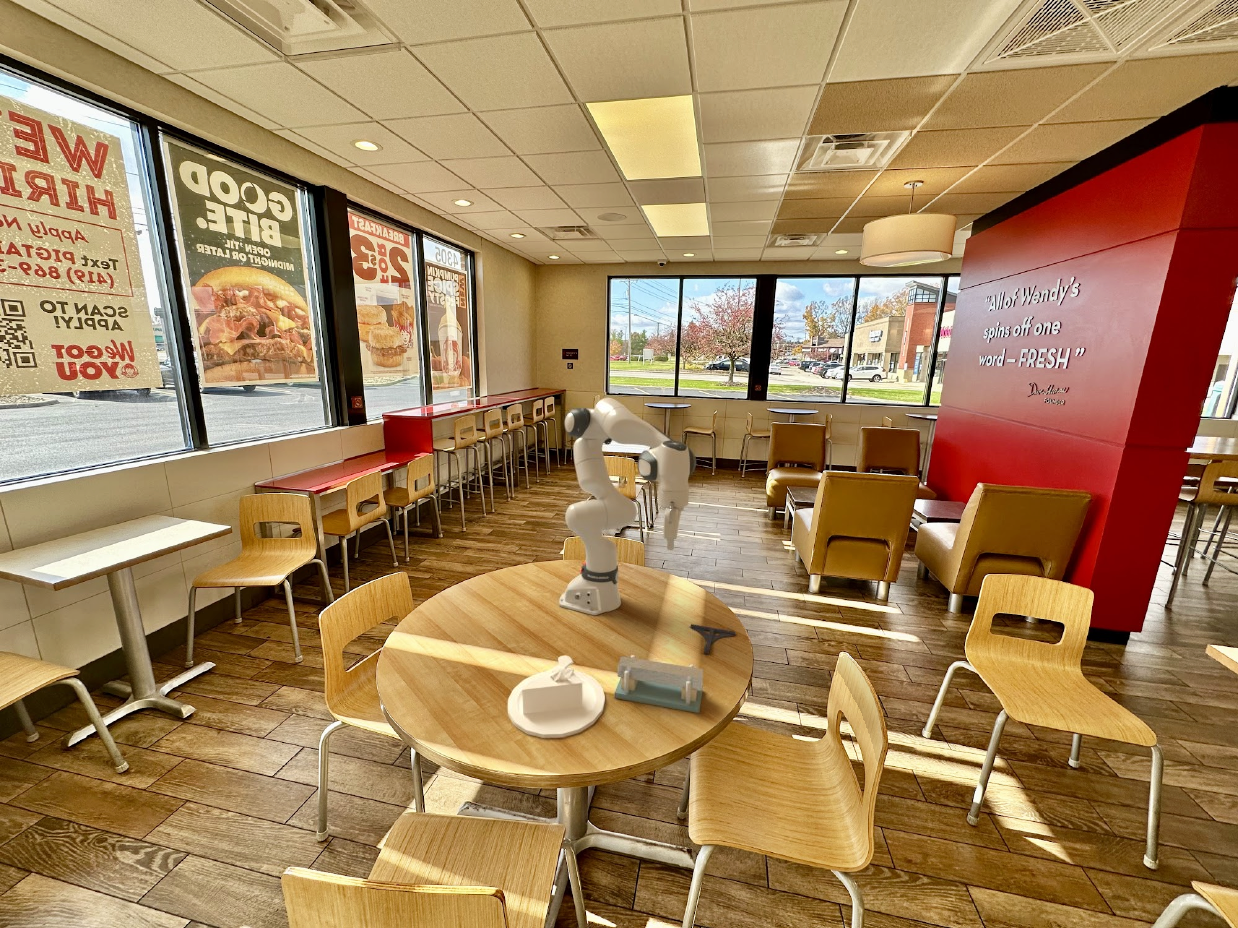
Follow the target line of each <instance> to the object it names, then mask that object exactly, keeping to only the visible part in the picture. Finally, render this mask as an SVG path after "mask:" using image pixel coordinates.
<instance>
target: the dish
mask: <svg viewBox="0 0 1238 928" xmlns="http://www.w3.org/2000/svg"><path fill="white" fill-rule="evenodd" d="M557 660H558V664H557V665H555V666H554V667H553V668H551V669H550V670H546V671H541V672H537V673H534V675H531V676H528V677H526V678H525V679H523V680H522V681H520V683H518V684H517V685H516V686H515V687H514V688H513V689H512V691H511V693H510V695H509V697H508V698H507V716H508V717H509V719H510V720H511V722H512V724H513V726H515V727H516V728H517V729H519V730H520V731H521V732H523V733H525V734H527V735H530V736H534V737H538V738H541V739H558V738H562V739H563V738H565V737H569V736H572V735H576V734H579V733H581V732H583V731H584V730H586V729H587V728H589V727H591V726H592V725H594V724H595V723H596V721H597V720H598V719H599V718H600V716H601V715H602V714H603V712H604V708H605V702H606V697H605V693H604V689H603V687H602V686H601V684H600V683H599V682H598V681H597V680H596V679H595V678H594V677H592V676H590V675H588V674H586V673H584V672H582V671H578V670H574V669H573V668H571V667H570V666H571V665H573V664H574V661H573V659H572V658H571V657H570V656H569V655H561V656H559V657H557Z"/></svg>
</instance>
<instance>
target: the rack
mask: <svg viewBox="0 0 1238 928" xmlns="http://www.w3.org/2000/svg"><path fill="white" fill-rule="evenodd" d="M630 658H636V655H635V654H632V655H630ZM689 667H693V668H695V665H694V664H692V663H691V664H689ZM619 678H620V679H619V680H618V683H617V686H616V688H615V691H614V698H615V699H620V700H624V701H631V702H636V703H641V704H647V705H651V706H652V705H653V706H656V707H657V706H658V707H664V708H668V709H669V708H670V709H674V710H679V711H680V710H681V711H685V712H690V713H697V714H700V710H701V704H702V695H703V689H704V688H703V685H702V690H701V691H699V690H694V689H691V682H690V681H687V682H686V688H682V687H676V686H670V685H664V684H658V683H652V682H647V681H641V680H635V679H629V671H625V674H624V678H623V677H619Z"/></svg>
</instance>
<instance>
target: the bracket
mask: <svg viewBox="0 0 1238 928" xmlns="http://www.w3.org/2000/svg"><path fill="white" fill-rule="evenodd" d="M690 629H691V630H692V631H694V632H697V633H699V634H700V635H701V636H702V637H703V638H704V640H705V642H706V643H705V645H704V649H703V650H704V651H703V655H707V656H708V655H710V654H709V653H710V650H711V646H712V644H714V642H716V641H718V640H720V639H723V638H730V637H731V638H732V637H735V636H736V631H734V630H728V629H722V628H716V627H710V626H704V625H698V624H693V623H691V624H690ZM707 632H709V633H707Z"/></svg>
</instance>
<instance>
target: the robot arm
mask: <svg viewBox="0 0 1238 928" xmlns="http://www.w3.org/2000/svg"><path fill="white" fill-rule="evenodd" d="M563 422H564V423H563V425H564V430H565V432H566V434H567V436H570V437H571V438H575V439H576V440H575V441H574V443H573V462H574V468H575V472H576V477H577V482H578V486H579V487H580V488H581V490H582V491H583V492H585V493H588V494H590V495H592V496H593V497H595V499H590V500H589V499H588V500H582V501H579V502H575V503H572V504H569V506H568V507H567V509H566V511H565V514H564V515H565V516H564V519H565V522H566V523H565V524H566V526H567V527H568V529H569V530H570V531H571V532H573V533H575V535H577V536H578V537H579V539H581V541H582V543H583V545H584V549H585V561H584V562H583V563H582V566H581V567H580V569H579V575H578V576H576V577H575V578H573V579H572V580H570V582H569V583H568V584H567V586H566V589H565V591H564V592H563V593H562V594H561V596H560V597H559V600H558V605H559V607H561V608H565V609H568V610H573V611H575V612H576V611H577V612H581V613H584V614H588V615H592V616H597V615H600V614H602V613H608V612H611V611H614V610H616V609H619V607H620V606H621V604H622V600H621V595H620V592H619V585H618V581H619V565H618V548H617V545H616V543H615V542H614V541H613V540H611V539H610V538H607V537H605V536H603V531H607V530H616V529H617V530H618V529H621V528H626V527H627V526H628V527H629V526H630V525H633V524H634V522H635V521H636V518H637V507H636V504H635V503H634V501H633V500H632V499H631V498H629V497H627V496H625V495H624V494H623V493H621V492H620V491H619V490H618V489H617V488H616V486H615V485H614V484H613V482H612V481H611V477H610V474H609V471H608V468H607V464H606V460H605V456H604V452H603V446H604V445H607V446H608V445H610V444H611V443H612V442H615V443H616V444H620V445H636V446H645V447H649V448H650V449H645V450H643V451H642V452H641V453H640V454H639V457H638V459H637V471H638V474H639V475H640V477H641V478H643V479H644V480H646V481H650V482H657V483H658V485H657V486H658V487H657V504H658V505H659V506H661V510H662V511H664V516H663V539H666V543H667V550H668V551H673V550H674V549H675V540H676V539H677V538H678V537H677V536H678V532H679V526H680V519H681V515H682V512H683V511H684V509H685V507H687V506H688V505H689V499H690V498H689V496H690V494H689V493H690V485H689V478H690V476H691V475H692V474H693V473H694V471H695V469H696V466H697V459H696V456H695V454H694V452H693V450H691V448H690V447H689V446H688V445H687V444H685V443H684V442H682V441H679V440H678V441H676V440H674V439H673V438H671V437H670V436H668V435H667V434H666V433H665V432H663V431H662V430H660V429H659V428H658V427H656V426H655V425H653V424H652V423H649V422H647V421H645V419H644V420H643V419H642V418H640V417H639V416H637V415H636V414H634V413H633V412H632V411H630V409H628V408H627V407H626V406H625V405H624V404H623V403H621V402H620V401H618V400H617V399H614V398H613V397H603V398H601V399H600V400H599V401H598V402H597V403H596V404H595V405H594V408H586V407H575V408H573V409H569V411H567V413H566V415H565V417H564V421H563Z"/></svg>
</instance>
